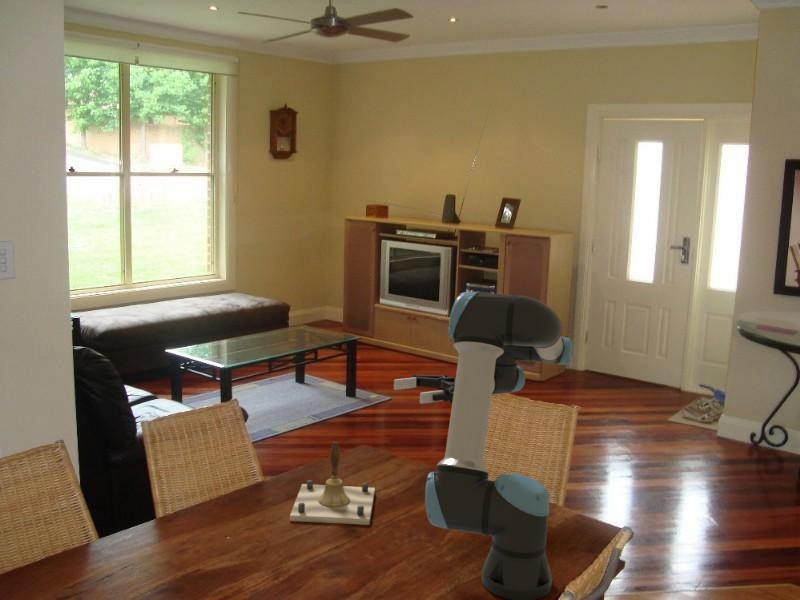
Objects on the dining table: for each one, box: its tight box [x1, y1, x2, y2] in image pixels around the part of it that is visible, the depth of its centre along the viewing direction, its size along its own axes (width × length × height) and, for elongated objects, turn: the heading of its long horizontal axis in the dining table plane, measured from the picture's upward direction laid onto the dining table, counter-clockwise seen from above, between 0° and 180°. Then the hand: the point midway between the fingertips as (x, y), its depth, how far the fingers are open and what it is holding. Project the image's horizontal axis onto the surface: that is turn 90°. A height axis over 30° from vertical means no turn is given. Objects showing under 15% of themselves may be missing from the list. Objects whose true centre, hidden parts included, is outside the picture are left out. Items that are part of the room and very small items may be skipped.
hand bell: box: [318, 441, 350, 507], centre depth 212 cm, size 8×8×16 cm
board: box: [289, 479, 376, 526], centre depth 213 cm, size 20×20×4 cm
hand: (407, 391), depth 213 cm, fingers open, 13 cm apart
